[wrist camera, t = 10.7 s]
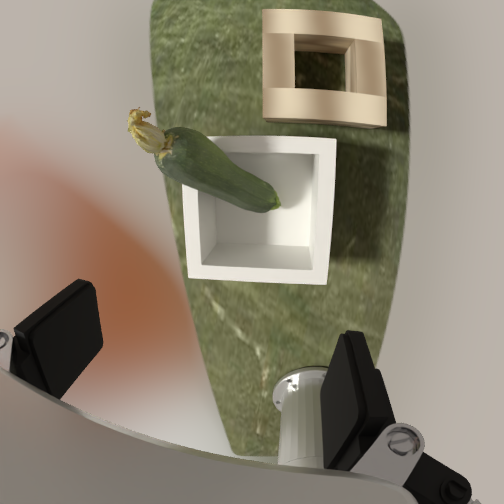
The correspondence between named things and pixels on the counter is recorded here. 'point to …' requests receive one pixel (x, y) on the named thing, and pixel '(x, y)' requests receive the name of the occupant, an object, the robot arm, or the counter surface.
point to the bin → (266, 215)
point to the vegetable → (201, 165)
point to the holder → (327, 41)
